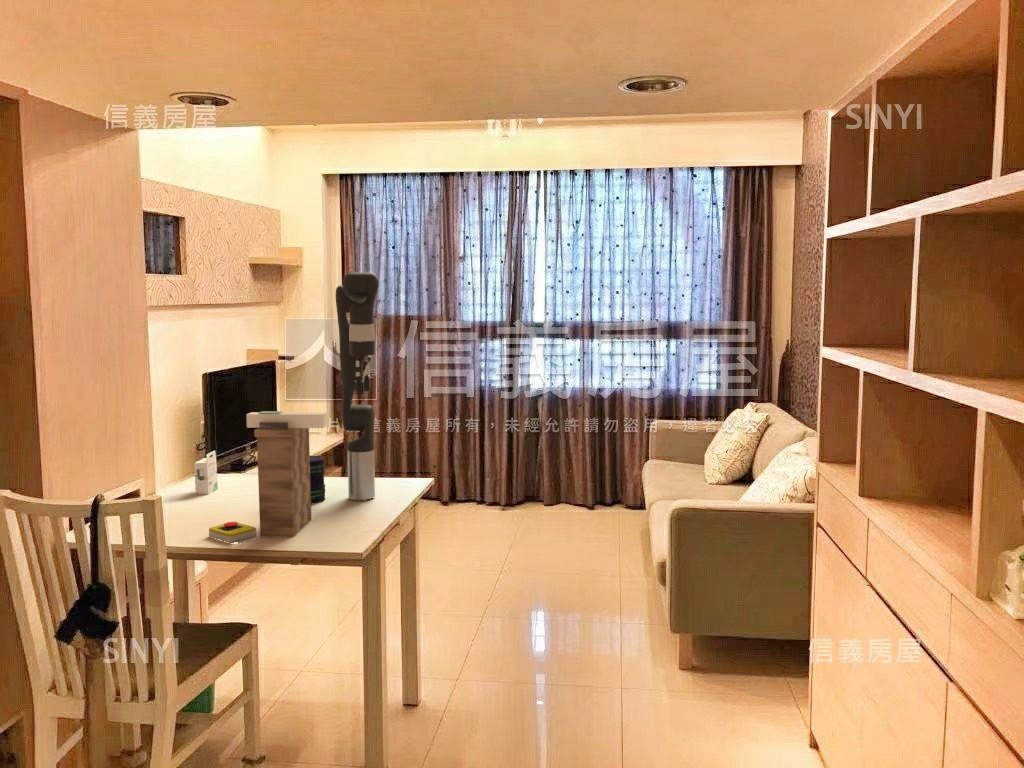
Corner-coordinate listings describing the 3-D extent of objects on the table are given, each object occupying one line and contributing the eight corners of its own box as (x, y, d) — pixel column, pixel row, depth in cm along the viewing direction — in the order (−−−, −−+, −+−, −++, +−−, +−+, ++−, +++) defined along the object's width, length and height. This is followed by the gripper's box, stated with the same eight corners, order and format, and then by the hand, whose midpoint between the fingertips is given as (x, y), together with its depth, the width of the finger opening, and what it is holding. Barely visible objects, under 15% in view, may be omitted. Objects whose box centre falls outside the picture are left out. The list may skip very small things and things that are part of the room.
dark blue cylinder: (293, 504, 271) (292, 461, 270) (300, 497, 281) (298, 455, 279) (322, 503, 271) (321, 461, 270) (328, 496, 281) (327, 455, 280)
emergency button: (231, 516, 241) (261, 524, 232) (232, 530, 241) (262, 539, 233) (204, 523, 234) (234, 532, 225) (204, 537, 234) (234, 547, 225)
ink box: (204, 489, 293) (203, 449, 292) (218, 489, 293) (216, 449, 291) (194, 494, 284) (193, 454, 283) (208, 494, 284) (206, 454, 283)
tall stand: (279, 519, 252) (276, 414, 248) (313, 519, 251) (310, 414, 248) (258, 536, 233) (254, 423, 229) (294, 537, 233) (291, 423, 229)
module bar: (251, 425, 238) (251, 411, 238) (327, 425, 237) (326, 411, 237) (246, 427, 234) (246, 412, 234) (323, 427, 233) (323, 413, 233)
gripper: (354, 338, 244) (355, 389, 246) (344, 340, 230) (345, 395, 232) (378, 338, 244) (379, 390, 246) (369, 340, 230) (370, 395, 232)
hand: (363, 392), depth 239 cm, fingers open, 8 cm apart
